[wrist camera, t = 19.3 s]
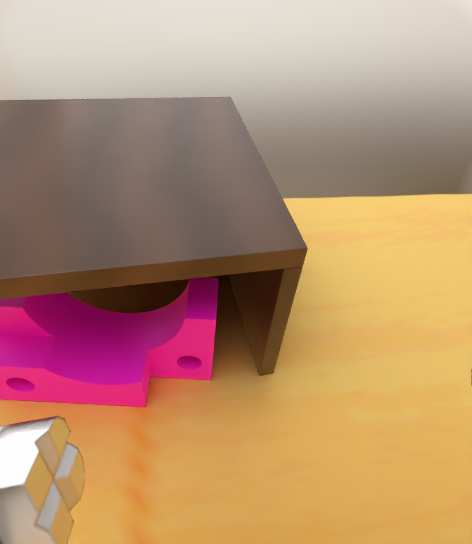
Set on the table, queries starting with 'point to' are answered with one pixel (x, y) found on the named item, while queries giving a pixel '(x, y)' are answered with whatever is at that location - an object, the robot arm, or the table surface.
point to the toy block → (103, 347)
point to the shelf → (145, 205)
